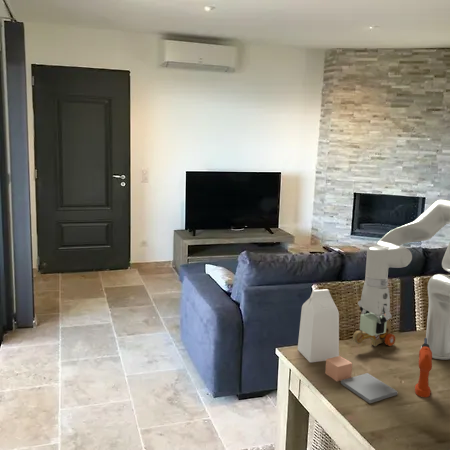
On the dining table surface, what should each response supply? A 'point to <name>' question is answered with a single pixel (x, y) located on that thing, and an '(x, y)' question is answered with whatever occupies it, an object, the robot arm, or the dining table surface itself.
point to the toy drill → (424, 370)
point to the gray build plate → (369, 388)
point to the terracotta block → (338, 368)
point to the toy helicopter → (376, 337)
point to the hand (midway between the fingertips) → (372, 329)
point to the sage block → (370, 323)
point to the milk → (319, 327)
